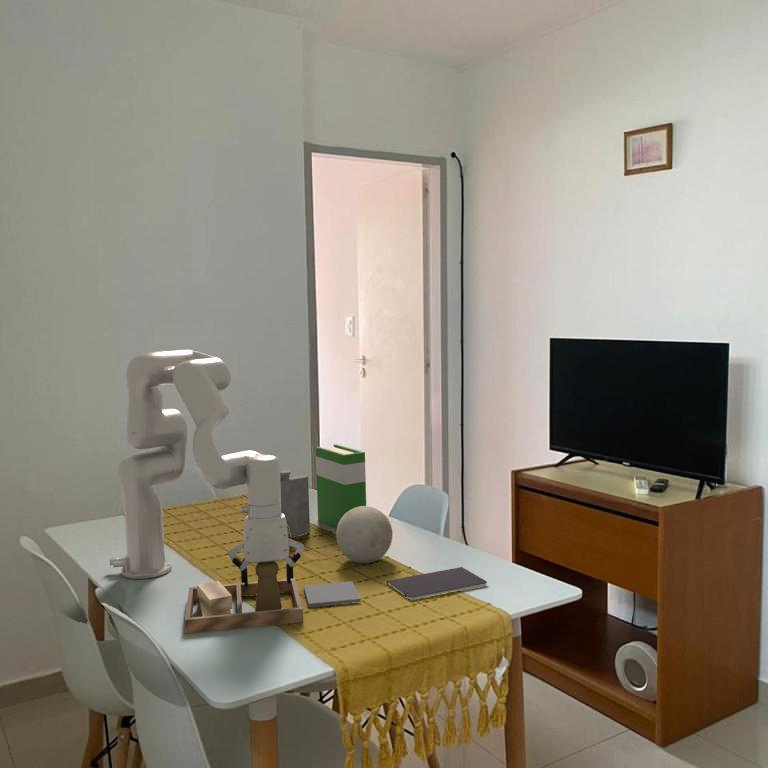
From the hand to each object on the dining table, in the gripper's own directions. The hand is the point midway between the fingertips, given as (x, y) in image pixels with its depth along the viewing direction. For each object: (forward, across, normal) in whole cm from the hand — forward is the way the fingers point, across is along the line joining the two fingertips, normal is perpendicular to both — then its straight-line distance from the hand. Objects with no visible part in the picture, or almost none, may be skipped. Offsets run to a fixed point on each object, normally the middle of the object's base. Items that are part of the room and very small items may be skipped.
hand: (267, 583), depth 184 cm
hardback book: (+6, +26, +64) cm, 69 cm away
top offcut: (+3, -12, 0) cm, 12 cm away
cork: (+6, 0, 0) cm, 6 cm away
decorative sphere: (+6, +27, +27) cm, 39 cm away
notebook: (+7, +41, +5) cm, 42 cm away
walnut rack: (+6, -6, 0) cm, 8 cm away
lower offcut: (+6, -12, 0) cm, 14 cm away
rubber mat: (+6, +15, +4) cm, 17 cm away
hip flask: (+6, +8, +56) cm, 57 cm away
